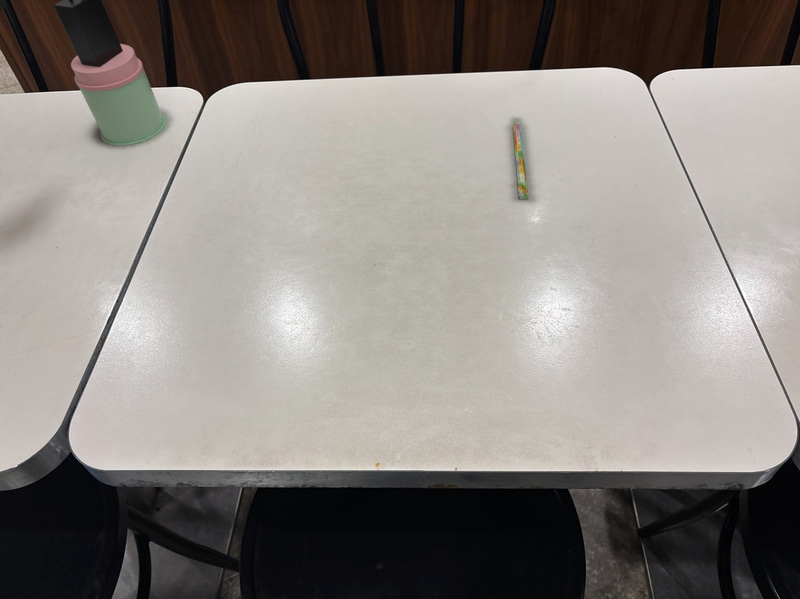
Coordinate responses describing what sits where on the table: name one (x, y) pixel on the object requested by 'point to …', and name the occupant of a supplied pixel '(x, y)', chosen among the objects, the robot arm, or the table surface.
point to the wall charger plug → (89, 30)
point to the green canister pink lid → (120, 99)
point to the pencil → (520, 162)
